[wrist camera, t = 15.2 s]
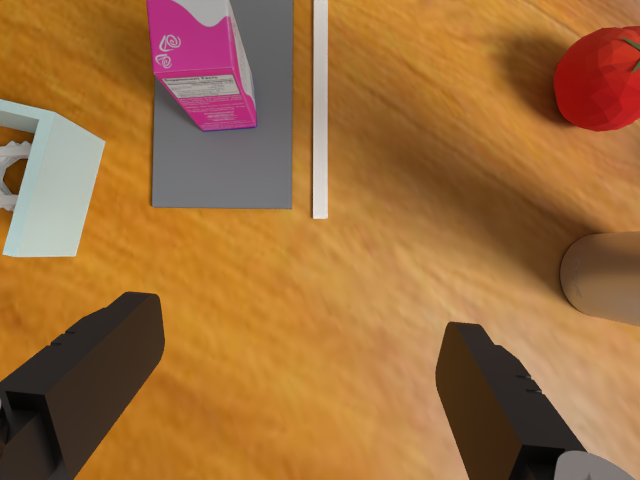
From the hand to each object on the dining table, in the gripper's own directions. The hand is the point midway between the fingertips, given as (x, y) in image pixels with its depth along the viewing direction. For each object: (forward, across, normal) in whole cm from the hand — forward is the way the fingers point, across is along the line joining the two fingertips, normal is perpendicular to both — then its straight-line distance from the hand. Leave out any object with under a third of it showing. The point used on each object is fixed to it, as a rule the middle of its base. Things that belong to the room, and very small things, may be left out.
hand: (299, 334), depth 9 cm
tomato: (+34, -27, -10) cm, 45 cm away
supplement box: (+29, +11, -6) cm, 31 cm away
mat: (+29, +12, -7) cm, 32 cm away
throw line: (+31, +2, -8) cm, 32 cm away
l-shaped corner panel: (+24, +30, +3) cm, 38 cm away
